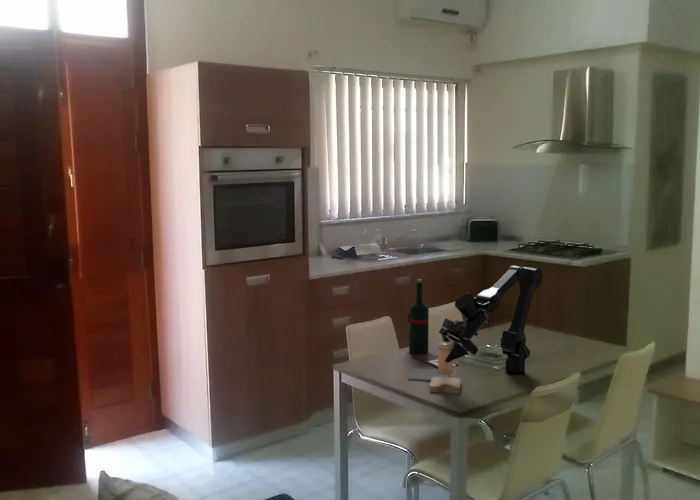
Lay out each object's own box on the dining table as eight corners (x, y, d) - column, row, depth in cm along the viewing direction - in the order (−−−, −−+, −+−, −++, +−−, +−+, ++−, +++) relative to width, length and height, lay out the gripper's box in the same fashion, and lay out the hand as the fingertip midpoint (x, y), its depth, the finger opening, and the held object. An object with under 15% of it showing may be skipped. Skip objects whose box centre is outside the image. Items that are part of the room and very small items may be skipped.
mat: (449, 371, 248) (449, 370, 248) (447, 382, 236) (447, 380, 236) (411, 369, 250) (411, 368, 250) (407, 379, 238) (407, 378, 238)
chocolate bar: (429, 352, 270) (458, 364, 255) (429, 355, 270) (458, 366, 255) (411, 355, 266) (439, 367, 250) (411, 358, 266) (439, 370, 251)
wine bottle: (416, 347, 280) (417, 276, 276) (432, 353, 272) (433, 279, 268) (401, 350, 275) (402, 278, 271) (417, 356, 267) (418, 281, 263)
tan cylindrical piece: (454, 370, 232) (454, 341, 230) (453, 375, 226) (454, 346, 225) (437, 369, 233) (438, 341, 231) (436, 374, 227) (437, 345, 226)
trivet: (460, 383, 234) (460, 378, 234) (459, 393, 224) (459, 387, 224) (431, 382, 236) (431, 376, 236) (429, 391, 226) (429, 386, 226)
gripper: (444, 304, 237) (415, 338, 234) (470, 316, 219) (439, 352, 217) (463, 324, 240) (435, 357, 238) (491, 337, 223) (461, 373, 221)
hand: (442, 359), depth 228 cm, fingers closed on tan cylindrical piece, 5 cm apart
